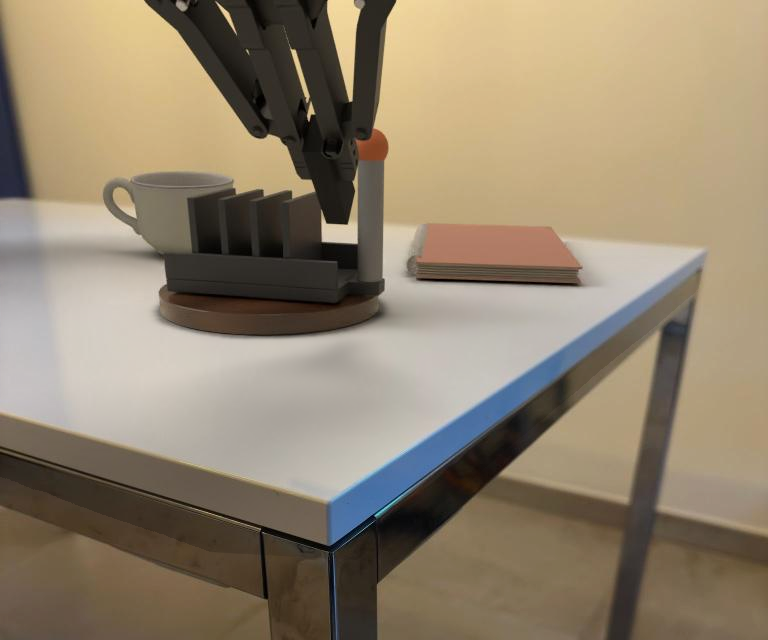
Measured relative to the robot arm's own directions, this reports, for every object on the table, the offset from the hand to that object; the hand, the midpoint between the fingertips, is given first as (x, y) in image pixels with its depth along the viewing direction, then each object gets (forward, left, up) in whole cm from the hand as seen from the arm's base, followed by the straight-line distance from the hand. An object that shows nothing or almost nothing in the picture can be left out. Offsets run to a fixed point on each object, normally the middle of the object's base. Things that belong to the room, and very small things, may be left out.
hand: (340, 207), depth 52 cm
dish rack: (-10, +6, -7) cm, 13 cm away
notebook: (-7, +37, -9) cm, 39 cm away
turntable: (-11, +5, -9) cm, 15 cm away
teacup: (-36, +18, -9) cm, 41 cm away
